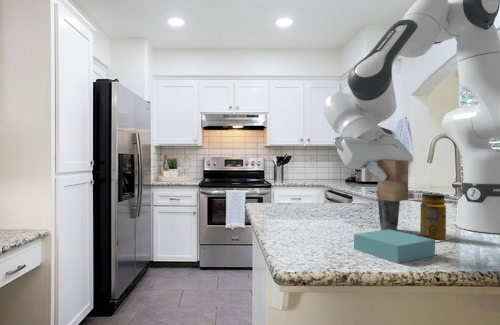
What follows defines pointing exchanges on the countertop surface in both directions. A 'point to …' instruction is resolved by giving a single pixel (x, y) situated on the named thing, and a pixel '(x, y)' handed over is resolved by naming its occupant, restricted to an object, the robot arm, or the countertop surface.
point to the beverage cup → (388, 213)
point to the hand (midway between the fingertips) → (395, 178)
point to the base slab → (394, 245)
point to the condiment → (433, 217)
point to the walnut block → (394, 180)
